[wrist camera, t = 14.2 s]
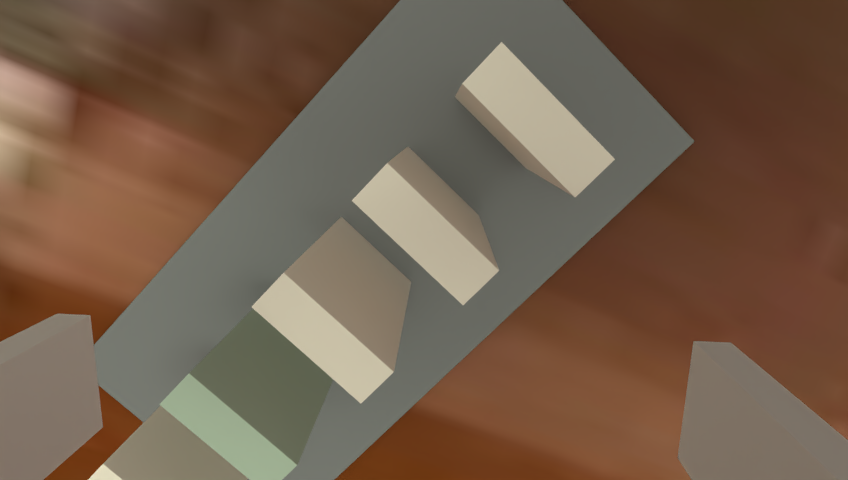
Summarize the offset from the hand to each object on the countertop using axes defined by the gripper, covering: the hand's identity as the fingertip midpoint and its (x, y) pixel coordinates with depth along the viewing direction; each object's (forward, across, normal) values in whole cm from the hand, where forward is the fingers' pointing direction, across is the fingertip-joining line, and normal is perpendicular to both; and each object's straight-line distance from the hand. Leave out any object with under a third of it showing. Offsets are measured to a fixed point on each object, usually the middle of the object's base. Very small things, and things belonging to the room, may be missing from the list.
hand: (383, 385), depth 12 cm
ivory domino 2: (+23, -4, -3) cm, 23 cm away
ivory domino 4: (+23, +4, +6) cm, 24 cm away
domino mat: (+24, -4, -3) cm, 24 cm away
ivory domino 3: (+23, 0, +1) cm, 23 cm away
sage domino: (+23, -8, -8) cm, 25 cm away
